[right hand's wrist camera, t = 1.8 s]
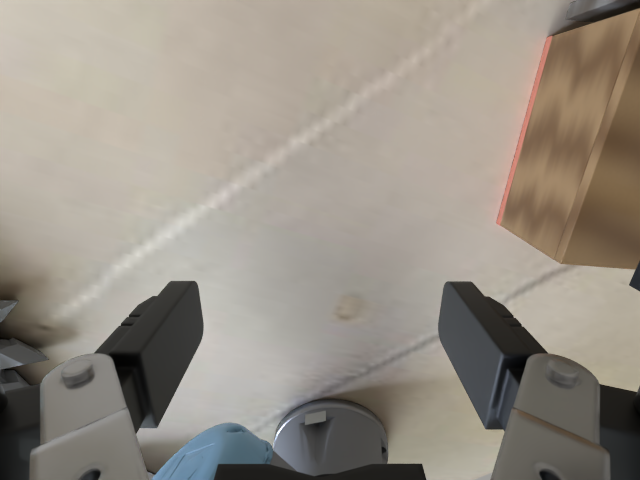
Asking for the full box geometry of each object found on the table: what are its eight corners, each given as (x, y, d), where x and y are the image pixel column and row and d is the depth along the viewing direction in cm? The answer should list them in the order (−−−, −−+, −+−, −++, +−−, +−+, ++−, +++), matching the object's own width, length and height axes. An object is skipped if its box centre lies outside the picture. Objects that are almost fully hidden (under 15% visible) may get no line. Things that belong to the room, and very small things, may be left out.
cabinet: (547, 37, 30) (653, 3, 21) (669, 48, 31) (830, 20, 21) (496, 223, 37) (560, 264, 27) (599, 231, 37) (699, 274, 27)
